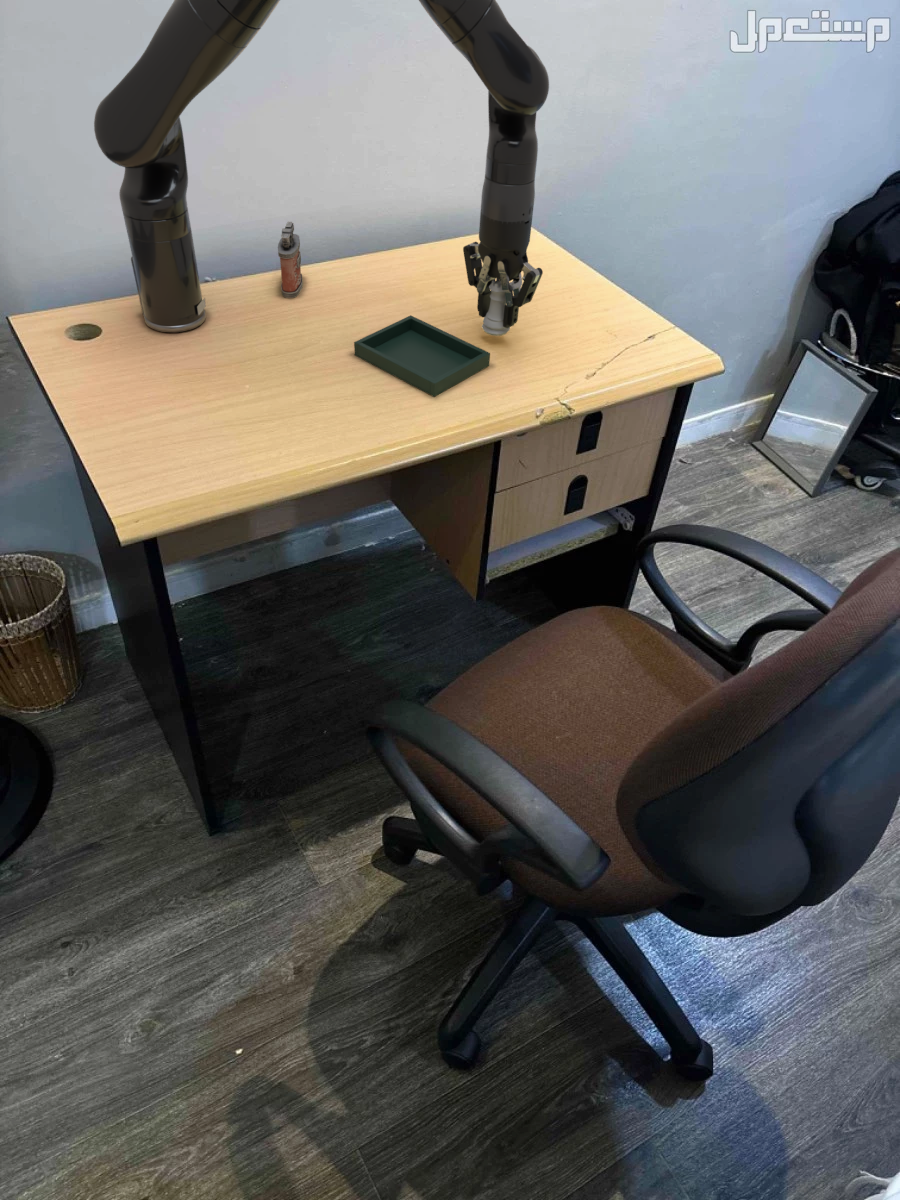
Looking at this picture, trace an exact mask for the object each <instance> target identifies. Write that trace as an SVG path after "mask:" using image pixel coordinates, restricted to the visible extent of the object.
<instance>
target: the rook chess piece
mask: <svg viewBox="0 0 900 1200" xmlns="http://www.w3.org/2000/svg"><path fill="white" fill-rule="evenodd" d="M489 288H490V290H491V292H492V293H491V295H490V298H491V302H490V307H489V311H488V312H487V314H486V316H485V317H483V320H482V324H481V328H482V330H483V331H484V333H486V334H487V335H489V336H493V337H494V336H495V337H501V336H504V335H506V334H508V333H509V332H510V330H511V327H510V328H505V327H503V319H504V308H505V305H506V299H505V292H504V291H503V290H502V285H501V281H500V280H498V279H497V278H496V279H493V280H492V283H491V284H490V285H489Z"/></svg>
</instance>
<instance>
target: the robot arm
mask: <svg viewBox="0 0 900 1200" xmlns="http://www.w3.org/2000/svg"><path fill="white" fill-rule="evenodd" d="M280 1H281V0H173V2H172V3H171V5H170V7H169V8H168V10H167V12H166V14H165V15H164V16H163V18H162V20H161V21H160V23H159V25H158V26H157V28H156V30H155V32H154V34H153V36H152V38H151V39H150V41H149V43H148V45H147V47H146V48H145V50H144V52H143V53H142V55H141V56H140V57H139V59H138V60H137V61H136V63H135V64H134V65H133V66H132V67H131V69H130V70H129V71H128V72H127V73H126V75H125V76H124V77H123V78H122V79H121V80H120V81H119V82H118V84H116V85H115V86H114V87H113V89H112V90H111V91H110V92H109V93H108V94H107V95H106V96H105V97H104V98H103V99H102V100H101V101H100V102H99V104H98V105H97V107H96V110H95V114H94V121H93V132H94V136H95V140H96V142H97V145H98V147H99V149H100V151H101V152H102V154H103V155H104V157H106V158H107V159H108V160H109V161H110V162H112V163H114V164H115V165H117V166H119V167H122V168H124V174H123V179H122V182H121V185H120V189H119V193H118V195H119V202H120V206H121V212H122V216H123V220H124V225H125V230H126V233H127V239H128V242H129V248H130V252H131V257H130V263H131V267H132V271H133V275H134V281H135V285H136V290H137V294H138V299H139V304H140V308H141V313H142V316H143V318H144V322H145V324H146V326H147V327H149V328H150V329H152V330H155V331H158V332H163V333H179V332H180V333H182V332H186V331H190V330H193V329H196V328H198V327H199V326H201V325H202V324H203V323H204V322H205V320H206V318H207V315H206V309H205V308H206V307H207V305H206V297H203V295H202V288H201V282H200V275H199V269H198V268H199V267H198V262H197V256H196V250H195V245H194V238H193V232H192V231H193V230H192V225H191V220H190V219H191V218H190V213H189V206H188V201H187V193H188V187H189V172H188V165H187V164H188V163H187V156H186V155H187V154H186V147H185V139H184V131H183V125H182V121H181V118H180V117H181V115H182V114H183V113H184V111H185V109H186V108H187V107H188V105H189V104H190V103H191V102H192V101H193V100H194V99H195V98H196V97H197V96H198V95H199V94H200V93H201V92H203V91H204V90H205V89H206V88H208V86H209V85H210V84H212V83H213V82H214V81H215V80H216V79H217V78H219V76H221V75H222V74H223V73H224V72H225V71H226V70H227V69H228V68H229V67H230V66H231V65H232V64H233V63H234V62H235V60H236V59H238V57H239V56H240V55H241V54H242V53H243V52H244V50H246V48H247V47H248V45H250V43H251V42H252V41H253V39H254V38H255V37H256V35H257V34H258V33H259V31H260V30H261V29H262V27H264V25H265V24H266V22H267V21H268V20H269V18H270V16H271V15H272V13H273V12H274V10H275V9H276V8H277V6H278V5H279V3H280ZM418 2H419V4H420V5H421V6H422V8H423V9H424V11H425V12H426V13H427V15H428V16H429V17H430V18H431V20H432V21H433V23H434V24H435V25H436V26H437V27H438V29H439V30H440V31H441V33H442V34H443V35H444V36H445V37H446V38H447V40H448V41H449V42H450V43H451V44H452V46H453V47H454V48H455V49H456V50H457V51H458V52H459V53H460V54H461V55H462V57H464V59H465V60H466V61H467V62H468V63H469V64H470V66H471V68H472V69H473V70H474V72H475V73H476V75H477V76H478V78H479V79H480V81H481V82H482V84H483V85H484V86H485V88H486V89H487V95H488V96H487V103H488V105H487V107H488V108H487V109H488V111H487V112H488V139H487V146H486V157H485V171H484V179H483V184H482V190H481V198H480V199H481V202H480V213H479V226H478V227H479V228H478V241H479V242H477V241H473V242H471V243H469V244H466V245H465V246H463V248H462V251H463V258H464V264H465V272H466V277H467V283H468V285H469V286H470V287H474V288H475V289H476V292H477V304H476V305H477V306H476V307H477V312H478V316H479V317H481V318H484V317H485V316H486V314H487V312H488V311H489V307H490V302H491V298H490V295H491V293H492V292H491V290H490V288H489V285H490V284H491V283H492V280H493V279H495V280H496V278H497V279H498V280H500V281H501V285H502V290H503V291H504V292H505V299H506V305H505V308H504V319H503V327H505V328H510V329H511V328H512V327H514V325H515V324H517V322H518V321H519V309H520V308H521V307H523V306H525V305H526V304H529V303H531V302H532V300H533V297H534V295H535V293H536V291H537V288H538V285H539V284H540V281H541V280H542V279H541V278H542V276H543V274H544V273H543V272H544V271H543V269H542V268H541V267H534V266H533V265H532V264H530V263H529V258H528V252H527V249H528V247H529V246H530V245H529V244H530V242H531V233H532V224H533V214H534V205H535V198H536V184H535V183H536V174H537V173H536V172H537V166H538V165H537V164H538V155H539V154H538V153H539V142H538V136H537V130H536V122H537V113H538V111H540V110H541V109H542V108H543V106H544V105H545V103H546V101H547V99H548V96H549V93H550V77H549V72H548V71H547V68H546V66H545V65H544V63H543V62H542V60H541V58H540V57H539V55H538V53H537V52H536V51H535V50H534V49H533V48H532V47H531V46H529V45H527V43H526V42H525V41H524V40H523V38H522V37H521V36H520V34H519V33H518V32H517V30H516V29H514V27H513V26H512V25H511V23H510V22H509V21H508V19H507V17H506V15H505V13H504V12H503V10H502V8H501V6H500V5H499V3H498V1H496V0H418ZM522 272H523V276H522Z"/></svg>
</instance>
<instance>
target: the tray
mask: <svg viewBox="0 0 900 1200" xmlns="http://www.w3.org/2000/svg"><path fill="white" fill-rule="evenodd" d="M353 343H354V344H353V346H354V347H353V349H354V352H353V353H354V355H353V356H355V357H357V358H359V359H361V360H363V361H365V362H366V363H369V364H370V365H373V366H375V368H378V369H380V370H382V371H384V372H385V373H387V374H390V375H392V376H393V377H396V378H397V379H398V380H401V381H403V382H404V383H407V384H409V385H410V386H412V387H414V388H415V389H418V390H420V391H422V392H424V393H426V394H428V395H429V396H431V397H433V398H435V397H437V396H439V395H440V394H442V393H444V392H446V391H447V390H449V389H452V388H453V387H455V386H456V385H458V384H460V383H462V382H463V381H466V380H467V379H468V378H469V379H470V377H472V376H474V375H476V374H478V373H479V372H481V371H483V370H485V369H486V368H488V367H490V360H491V352H489V351H487V350H484V349H482V348H480V347H479V346H476V345H474V344H472V343H471V342H468V341H466V340H463V339H462V338H460V337H457V336H455V335H453V334H451V333H449V332H447V331H445V330H443V329H441V328H439V327H437V326H434V325H432V324H430V323H428V322H426V321H424V320H422V319H419V318H417V317H415V316H414V315H408V316H406V317H404V318H402V319H399V320H397V321H395V322H393V323H391V324H389V325H387V326H385V327H383V328H381V329H379V330H377V331H374V332H372V333H370V334H368V335H366V336H364V337H361V338H359V339H358V340H355V341H354V342H353Z"/></svg>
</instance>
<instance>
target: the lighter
mask: <svg viewBox="0 0 900 1200" xmlns="http://www.w3.org/2000/svg"><path fill="white" fill-rule="evenodd" d="M294 232H295V224H294V222H293V221H287V223H286V224H285V226H284V228H281V234H280V236H281V238H280V240H278V243H277V255H278V257H279V264H280V273H281V285H280V289H281V296H282V297H284V298H287V299H292V298H296V297H298V296H299V295H300V293H301V292H302V290H303V285H304V281H303V280H304V279H303V274H302V270H301V263H302V254H301V252H302V251H300V248H301V239H300V235H298V234H297V233H294Z"/></svg>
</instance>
